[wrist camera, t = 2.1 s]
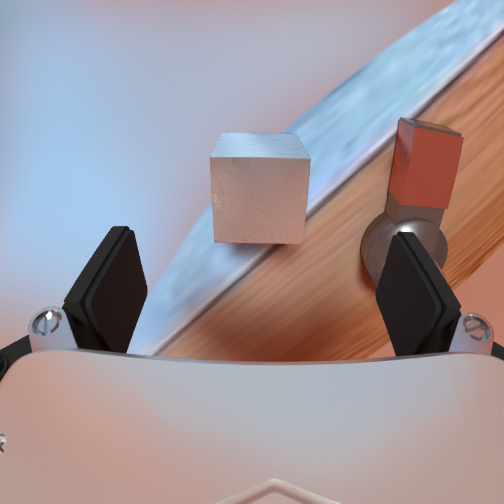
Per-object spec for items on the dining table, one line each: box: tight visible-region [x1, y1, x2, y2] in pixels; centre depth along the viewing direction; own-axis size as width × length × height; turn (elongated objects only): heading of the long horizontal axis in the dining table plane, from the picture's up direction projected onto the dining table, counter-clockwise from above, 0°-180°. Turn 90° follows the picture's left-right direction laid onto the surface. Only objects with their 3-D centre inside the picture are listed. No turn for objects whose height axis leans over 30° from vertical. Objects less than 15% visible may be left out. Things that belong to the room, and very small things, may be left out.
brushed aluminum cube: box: [210, 133, 311, 244], centre depth 19 cm, size 5×5×6 cm
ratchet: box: [361, 117, 464, 288], centre depth 20 cm, size 14×7×6 cm, turn 179°
